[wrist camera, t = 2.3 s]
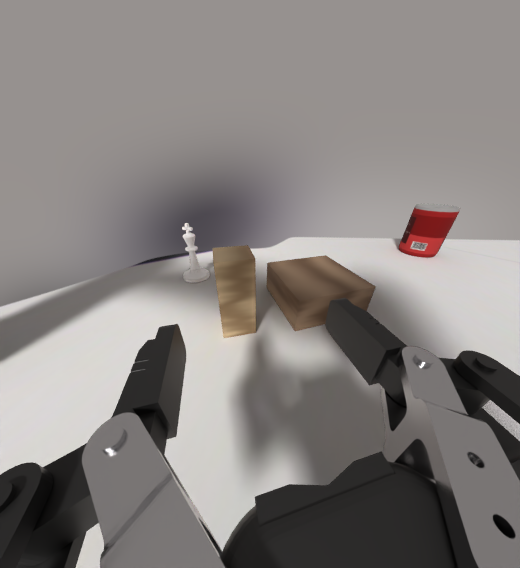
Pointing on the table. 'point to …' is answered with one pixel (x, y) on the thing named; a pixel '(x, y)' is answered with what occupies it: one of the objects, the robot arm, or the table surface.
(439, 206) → the canned food
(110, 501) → the robot arm
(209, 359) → the table surface
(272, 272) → the walnut block
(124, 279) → the table surface
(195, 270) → the chess piece
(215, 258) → the oak block
